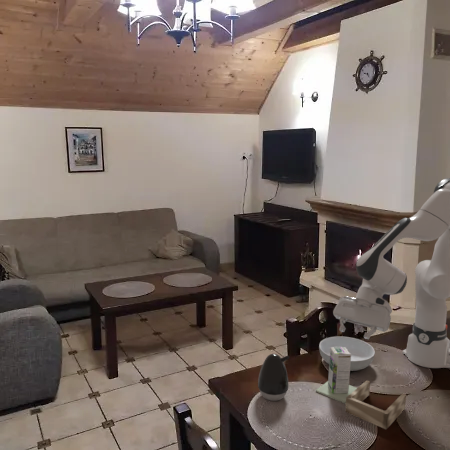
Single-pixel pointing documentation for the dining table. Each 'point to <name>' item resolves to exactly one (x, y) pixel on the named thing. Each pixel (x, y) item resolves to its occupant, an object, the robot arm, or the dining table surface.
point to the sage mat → (339, 397)
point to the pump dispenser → (273, 378)
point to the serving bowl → (358, 349)
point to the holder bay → (371, 412)
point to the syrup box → (339, 370)
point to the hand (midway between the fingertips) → (353, 334)
